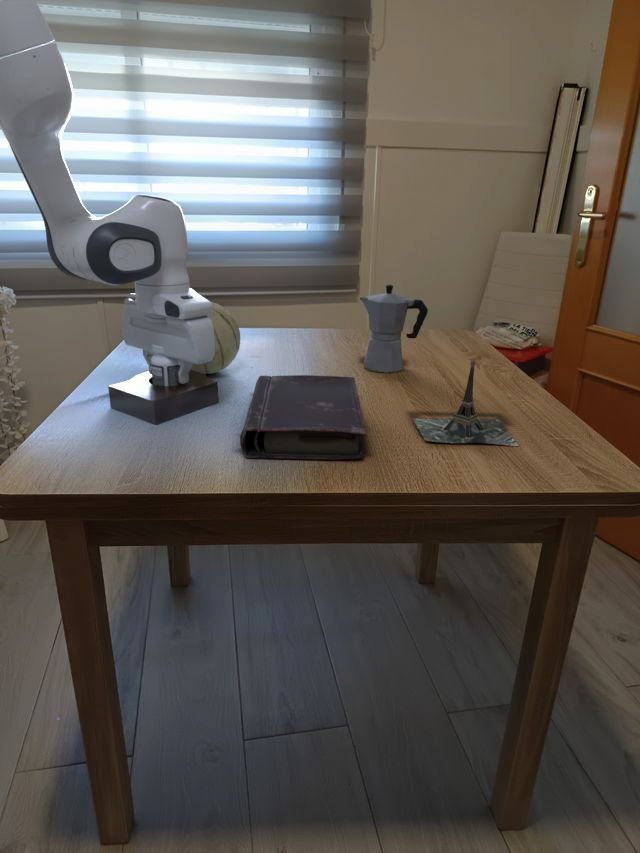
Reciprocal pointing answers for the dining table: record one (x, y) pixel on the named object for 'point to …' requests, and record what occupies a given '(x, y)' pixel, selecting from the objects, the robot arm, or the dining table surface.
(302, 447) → the diary
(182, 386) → the dark holder block
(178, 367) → the pill bottle
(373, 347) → the coffeepot
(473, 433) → the eiffel tower figurine
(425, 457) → the dining table surface
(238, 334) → the cantaloupe
